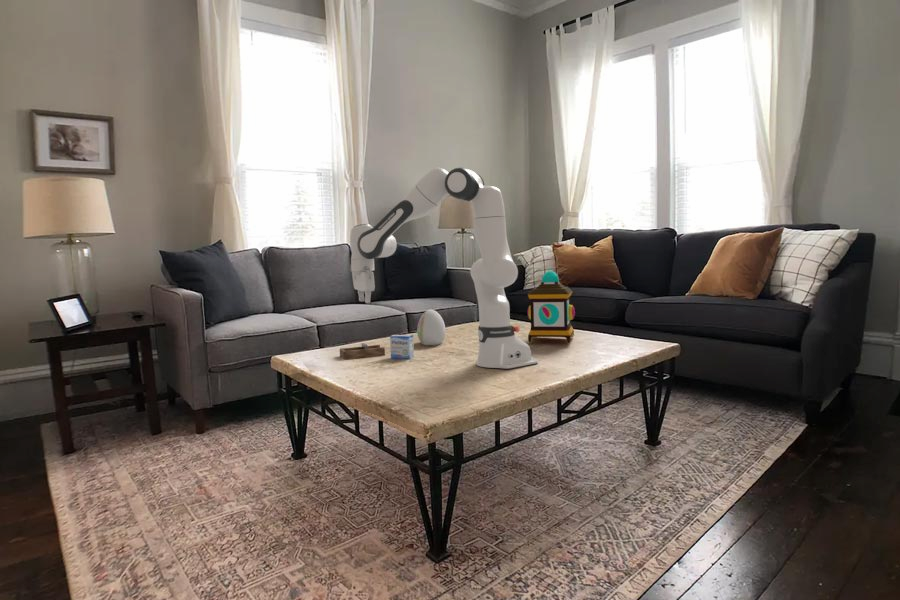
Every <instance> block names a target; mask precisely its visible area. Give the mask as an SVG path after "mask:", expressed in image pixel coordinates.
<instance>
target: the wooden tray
mask: <svg viewBox="0 0 900 600" xmlns="http://www.w3.org/2000/svg"><path fill="white" fill-rule="evenodd" d="M385 355H386V348H385V347H384V346H382V347H381V345H380V344H374V345H367V349H362V346H353V347H345V348H339V357H340V358H341V359H342V360H353V359H361V358H362V359H363V358H371V357H380V356H385Z"/></svg>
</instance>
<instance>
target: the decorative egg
mask: <svg viewBox="0 0 900 600" xmlns="http://www.w3.org/2000/svg"><path fill="white" fill-rule="evenodd" d="M417 323H418V324H417V330H416V332H417V338H418V340H419V342H420V343H421V345H423V346H428V345H433V346H439V345H441V344H442V343H443V342H444V340H445V337H446V335H447V334H446V332H447V331H446V325H445V322H444V319H443V317H442V316H441V314H440V313H438V312H437V310H435V309H427V310H426V311H425V312H424V313H422V315H421V316H420V318H419V320H418V322H417Z"/></svg>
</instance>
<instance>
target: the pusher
mask: <svg viewBox="0 0 900 600" xmlns="http://www.w3.org/2000/svg"><path fill="white" fill-rule="evenodd" d="M367 346H368V344H366V343H365V342H363V343H361V347H362V349H367Z"/></svg>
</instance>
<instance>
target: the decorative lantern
mask: <svg viewBox="0 0 900 600" xmlns="http://www.w3.org/2000/svg"><path fill="white" fill-rule="evenodd" d="M559 279H560V278H559V276H558V274H557V273H556V272H555V271H554V270H548V271H546V272H545V273H544V274H542V277H541V282H540V284H539V285H538V286H536V287H535V288H532V289H531V290H530V291H529V292H528V293H527V297H528V299H529V301H530V303H529V304H530V305H529V306H528V307H527V318H528V319H529V320H530V330H529V332H528V334H527V340H528V344H532V342H533V338H538V337H539V338H565V339H566V343H567V344H568V345H569V344H571V339H573V338H574V336H575V333H574V328H573V326H572V322H571V321H572V320H574V319H575V315H576V312H575V307H574V305H573V304H571V296H572V294H573V290H572V289H571V288H569V286H565V284H562V283H561V282H560V280H559Z"/></svg>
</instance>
